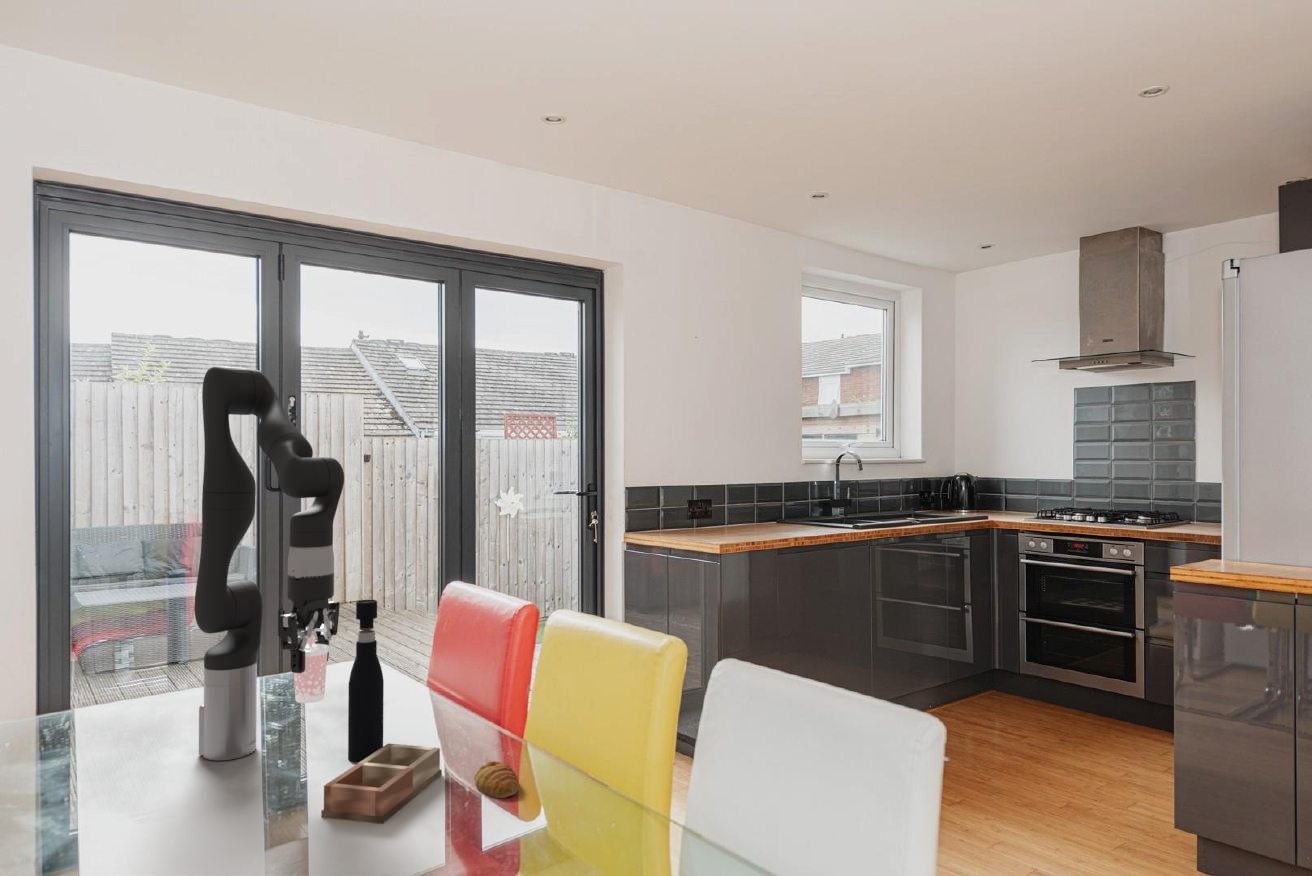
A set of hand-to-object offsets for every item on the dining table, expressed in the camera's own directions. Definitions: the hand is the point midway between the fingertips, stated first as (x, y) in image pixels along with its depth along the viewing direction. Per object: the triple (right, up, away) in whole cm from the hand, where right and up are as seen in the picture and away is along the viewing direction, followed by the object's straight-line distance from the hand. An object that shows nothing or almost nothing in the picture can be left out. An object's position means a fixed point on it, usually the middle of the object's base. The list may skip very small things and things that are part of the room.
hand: (310, 667), depth 145 cm
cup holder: (+14, -21, -2) cm, 26 cm away
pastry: (+33, -22, +1) cm, 40 cm away
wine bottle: (+4, -22, +15) cm, 27 cm away
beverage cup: (0, -6, 0) cm, 6 cm away
